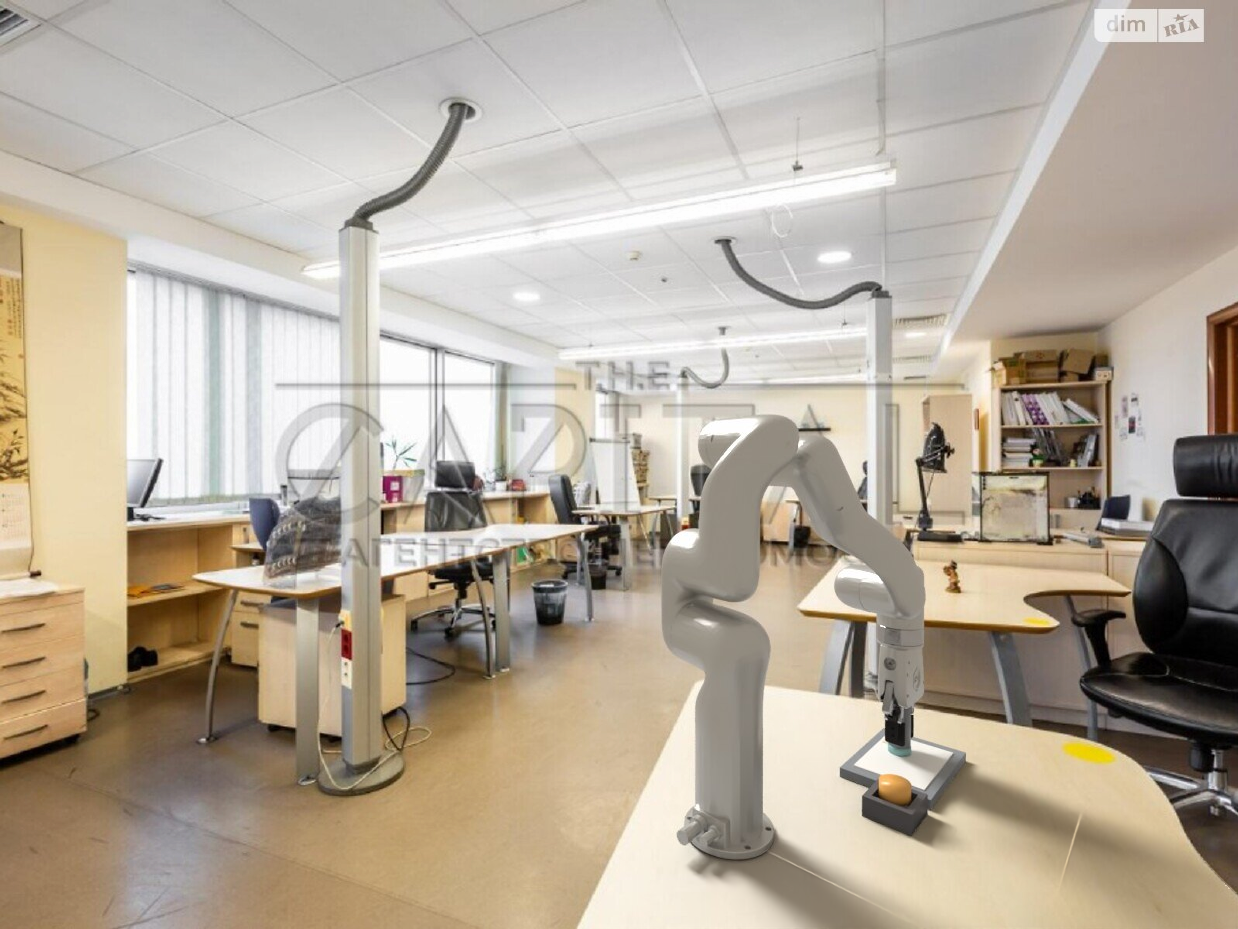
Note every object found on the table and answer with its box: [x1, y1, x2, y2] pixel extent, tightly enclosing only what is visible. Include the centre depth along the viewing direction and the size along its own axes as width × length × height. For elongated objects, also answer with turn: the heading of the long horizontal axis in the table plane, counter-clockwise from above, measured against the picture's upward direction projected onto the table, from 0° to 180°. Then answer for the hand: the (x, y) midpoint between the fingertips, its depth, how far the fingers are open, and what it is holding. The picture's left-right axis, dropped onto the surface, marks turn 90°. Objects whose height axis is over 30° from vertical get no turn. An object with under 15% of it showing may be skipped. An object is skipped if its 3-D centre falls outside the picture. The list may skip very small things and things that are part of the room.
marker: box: [888, 700, 911, 756], centre depth 105 cm, size 4×4×11 cm
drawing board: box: [839, 727, 967, 811], centre depth 103 cm, size 20×14×2 cm
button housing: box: [861, 778, 929, 837], centre depth 90 cm, size 7×7×3 cm
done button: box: [879, 774, 911, 806], centre depth 90 cm, size 4×4×2 cm
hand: (899, 738), depth 105 cm, fingers closed on marker, 3 cm apart
